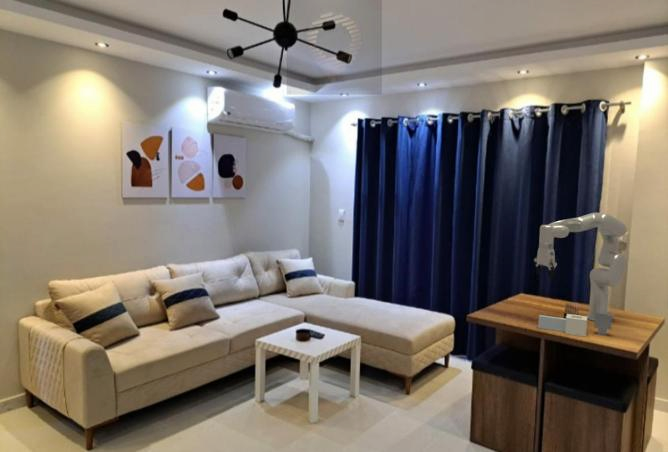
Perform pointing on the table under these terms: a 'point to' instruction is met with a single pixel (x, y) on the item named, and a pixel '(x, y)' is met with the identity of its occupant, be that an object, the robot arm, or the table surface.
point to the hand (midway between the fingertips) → (544, 275)
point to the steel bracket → (602, 323)
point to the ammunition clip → (570, 309)
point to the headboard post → (565, 324)
